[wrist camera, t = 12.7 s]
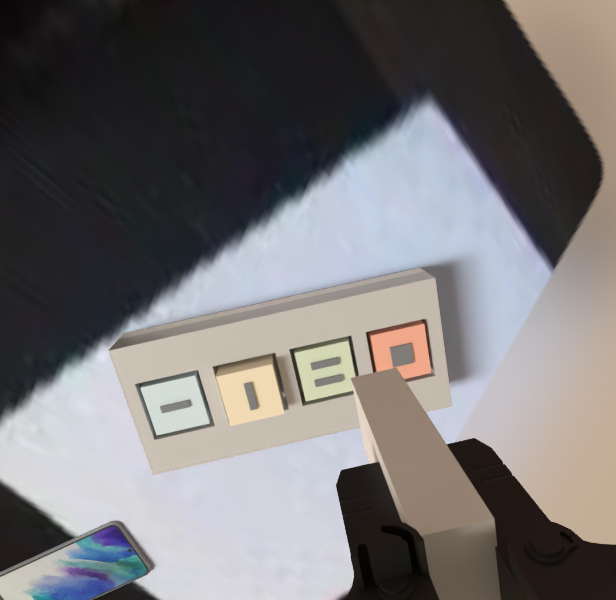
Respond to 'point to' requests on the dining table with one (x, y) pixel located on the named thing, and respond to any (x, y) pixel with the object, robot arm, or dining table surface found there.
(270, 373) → the key sand
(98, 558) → the smartphone
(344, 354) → the key sage
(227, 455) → the keypad
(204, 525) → the dining table surface
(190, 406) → the key blue
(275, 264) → the dining table surface
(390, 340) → the key coral
